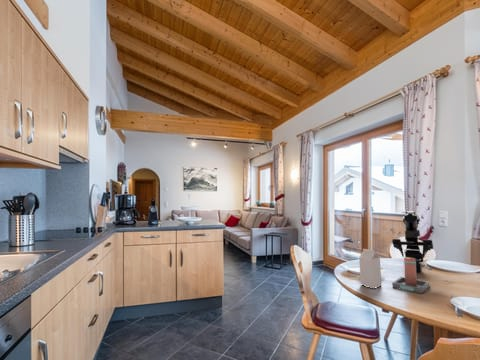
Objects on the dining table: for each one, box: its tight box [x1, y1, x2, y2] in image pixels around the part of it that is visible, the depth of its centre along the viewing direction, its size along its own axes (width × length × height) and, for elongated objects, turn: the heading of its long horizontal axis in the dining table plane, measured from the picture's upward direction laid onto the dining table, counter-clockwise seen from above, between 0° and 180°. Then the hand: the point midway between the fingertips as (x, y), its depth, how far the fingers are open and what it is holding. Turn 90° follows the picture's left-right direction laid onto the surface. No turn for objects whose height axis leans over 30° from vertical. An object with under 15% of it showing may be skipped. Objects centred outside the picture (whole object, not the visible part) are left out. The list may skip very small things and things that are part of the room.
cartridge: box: [403, 256, 418, 287], centre depth 136 cm, size 5×5×14 cm
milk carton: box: [358, 248, 383, 288], centre depth 139 cm, size 7×7×19 cm
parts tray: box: [391, 276, 430, 295], centre depth 135 cm, size 13×13×2 cm
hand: (412, 257), depth 142 cm, fingers open, 9 cm apart
